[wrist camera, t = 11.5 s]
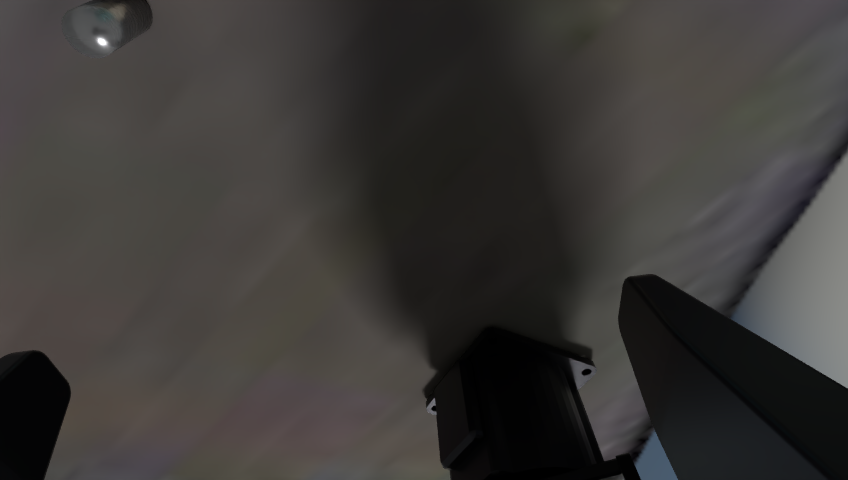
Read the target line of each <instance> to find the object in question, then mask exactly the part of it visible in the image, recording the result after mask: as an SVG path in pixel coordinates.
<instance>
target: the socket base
mask: <svg viewBox="0 0 848 480" xmlns="http://www.w3.org/2000/svg"><path fill="white" fill-rule="evenodd" d="M151 24H152V12H151V9H150V7H149V5H148V3H147V2H146V1H145V0H92V1H90V2H87V3H85V4H82V5H80V6H78V7H75V8H73V9H71V10H69V11H67V12H66V13H65V15H64V16H63V19H62V30H63V33H64V35H65V37H66V39H67V41H68V42H69V43H70V45H71V46H72V47H73V48H74V49H76V50H77V51H78V52H80V53H81V54H83V55H85V56H88V57H92V58H103V57H106V56H108V55H109V54H111V53H112V52H114V51H115V50H117V49H119V48H120V47H122V46H123V45H125V44H126V43H128V42H130V41H131V40H133V39H134V38H136V37H137V36H139V35H141V34H142V33H144V32H145V31H147V30H148V29H149V28H150V26H151Z"/></svg>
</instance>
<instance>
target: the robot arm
mask: <svg viewBox="0 0 848 480" xmlns="http://www.w3.org/2000/svg"><path fill="white" fill-rule="evenodd" d="M618 323H619V329H620V333H621V336H622V339H623V341H624V344H625V347H626V350H627V353H628V356H629V359H630V362H631V365H632V368H633V371H634V374H635V376H636V379H637V382H638V385H639V388H640V391H641V394H642V397H643V400H644V403H645V406H646V408H647V411H648V414H649V417H650V419H651V422H652V424H653V427H654V429H655V431H656V434H657V436H658V438H659V440H660V442H661V444H662V447H663V448H664V451H665V453H666V455H667V457H668V459H669V461H670V463H671V466H672V468H673V470H674V472H675V474H676V476H677V478H678V480H848V388H846V387H844V386H842V385H841V384H839V383H837V382H836V381H834V380H832V379H831V378H829V377H827V376H826V375H824V374H822V373H821V372H819V371H817V370H815V369H814V368H812V367H810V366H809V365H807V364H805V363H803V362H802V361H800V360H798V359H797V358H795V357H793V356H792V355H790V354H788V353H787V352H785V351H783V350H782V349H780V348H778V347H777V346H775V345H773V344H772V343H770V342H768V341H767V340H765V339H763V338H761V337H760V336H758V335H757V334H755V333H753V332H751V331H750V330H748V329H746V328H745V327H743V326H741V325H740V324H738V323H736V322H735V321H733V320H731V319H730V318H728V317H726V316H724V315H723V314H721V313H719V312H718V311H716V310H714V309H713V308H711V307H709V306H708V305H706V304H704V303H703V302H701V301H699V300H698V299H696V298H694V297H692V296H691V295H689V294H687V293H686V292H684V291H682V290H681V289H679V288H677V287H676V286H674V285H672V284H671V283H669V282H667V281H665V280H664V279H662V278H660V277H659V276H657V275H654V274H646V275H638V276H630V277H628V278H626V279H625V281H624V283H623V287H622V294H621V301H620V308H619V315H618ZM493 337H494V338H493ZM490 338H492V339H490ZM595 373H596V367H595V365H594V363H593V361H591V360H589V359H587V358H584V357H581V356H578V355H575V354H572V353H569V352H566V351H563V350H560V349H557V348H554V347H551V346H549V345H546V344H543V343H540V342H537V341H534V340H531V339H528V338H525V337H522V336H519V335H516V334H513V333H510V332H508V331H505V330H502V329H499V328H494V327H491V328H487V329H485V330H484V331H483V332H482V333H481V334H480V335H479V336H478V338H477V339H476V340H475V341H474V343H473V344H472V345H471V346H470V348H469V349H468V350H467V351H466V352H465V354H464V355H463V356H462V357H461V359H459V360H458V361H457V362H456V363H455V364H454V366H453V367H452V368H451V369H450V371H449V372H448V373H447V374H446V376H445V377H444V378H443V379H442V380H441V382H440V383H439V384H438V385H437V387H436V388H435V390H434V392H433V393H432V394H431V395H430V397H429V398H428V399H427V401H426V408H427V411H428V412H429V413H431V414H434V415H436V416H437V427H438V438H439V449H440V461H441V464H442V466H443V468H444V469H448V470H450V478H451V480H641V479H640V476H639V474H638V472H637V470H636V467H635V465H634V463H633V461H632V459H631V456H630V454H629V452H628V453H625V454H621V455H617V456H615V457H616V459H612V460H608V461H604V459H603V457H602V454H601V451H600V449H599V446H598V443H597V440H596V438H595V435H594V432H593V430H592V427H591V424H590V422H589V419H588V416H587V413H586V411H585V408H584V405H583V403H582V400H581V397H580V395H579V392H578V390H579V389H580V388H581V387H582V386H583V385H584V384H585V383H586V382H587V381H588V380H589V379H590V378H591V377H593V376H594V375H595ZM70 397H71V389H70V385H69V383H68V381H67V380H66V379H65V378H64V376H63V375H62V374H61V373H60V372H59V370H58V369H57V368H56V367H55V365H54V364H53V363H52V362H51V361H50V359H49V358H48V357H47V356H46V355H45V354H44V353H42V352H40V351H36V350H31V351H23V352H15V353H11V354H8V355H5V356H4V357H2V358H0V480H44V478H45V475H46V472H47V469H48V466H49V463H50V460H51V457H52V454H53V450H54V447H55V444H56V441H57V438H58V435H59V432H60V429H61V426H62V423H63V420H64V416H65V413H66V410H67V407H68V404H69V401H70Z"/></svg>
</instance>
